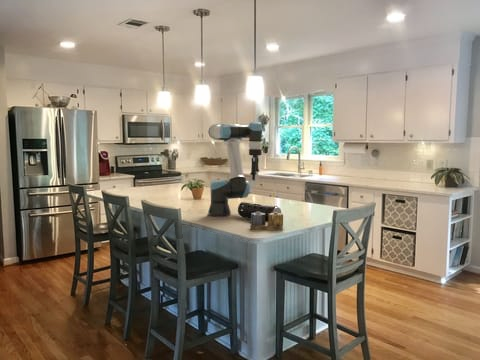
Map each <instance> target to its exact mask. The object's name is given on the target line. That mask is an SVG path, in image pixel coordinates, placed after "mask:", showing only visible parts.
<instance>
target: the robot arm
mask: <svg viewBox="0 0 480 360" xmlns="http://www.w3.org/2000/svg"><path fill="white" fill-rule="evenodd" d="M207 132H208V135H209V137H210V138H211V139H212V140H215V141H223V142H224V145H226V148H227V156H228V163H229V165H228V166H229V173H230V178H229V180H228V179H218V180H214V181H211V183H210V189H209V190H210V204H209V207H208V208H209V209H208V211H207V212H208V213H207V215H208V216H210V217H217V218H219V217H228V216H229V217H230V216H231V213H232V211H231V209H230V205H229V200H230V199H245V198H247V197H248V196H249V195H250V191H251V186H252V187H253V186H254V187H256V186H257V183H259V172H260V169H259V161H260V160H259V159H260V158H259V156H262V155H263V154H262V145H264V144H263V141H262V140H263V139H262V138H263V125H262V122H249V125H240V124H238V123H215V124H212V125H211V126H210V127H209V128H208V130H207ZM243 139H248V156H252V157H251V170H250V173H249V175H251V178H250V179H251V180H250V181H249V180H247V178H246V176H244V171H243V163H242V156H241V148H240V143H241V142H242V140H243Z"/></svg>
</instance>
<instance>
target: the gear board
mask: <svg viewBox="0 0 480 360" xmlns="http://www.w3.org/2000/svg"><path fill="white" fill-rule="evenodd" d="M257 214H260V212H257ZM283 227H284V213H282V212H281V213H277V212H274V213H270V214H268V222H267V221H266V224H265V225H261V226H259V225H256V226H255V225H251V224H250V230H257V231H259V230H264V231H283V229H284V228H283Z"/></svg>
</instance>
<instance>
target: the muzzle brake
mask: <svg viewBox="0 0 480 360" xmlns="http://www.w3.org/2000/svg"><path fill="white" fill-rule="evenodd" d="M255 212H260V213H265V214H266V222H268V214H270V213H274V212H277V213H282V209H281V207H278V206H277V205H267V204H260V203H253V202H245V201H242V202H240V203H239V204H238V207H237V213H238V215H239V216H241V218H243V219H250V220H251V213H255Z"/></svg>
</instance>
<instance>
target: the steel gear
mask: <svg viewBox="0 0 480 360" xmlns="http://www.w3.org/2000/svg"><path fill="white" fill-rule="evenodd" d="M266 222H267V221H266V214H265V213H260V214H257V212H255V213H251V219H250V226H251V225H255V226H256V225H259V226H261V225H265V224H266Z"/></svg>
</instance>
